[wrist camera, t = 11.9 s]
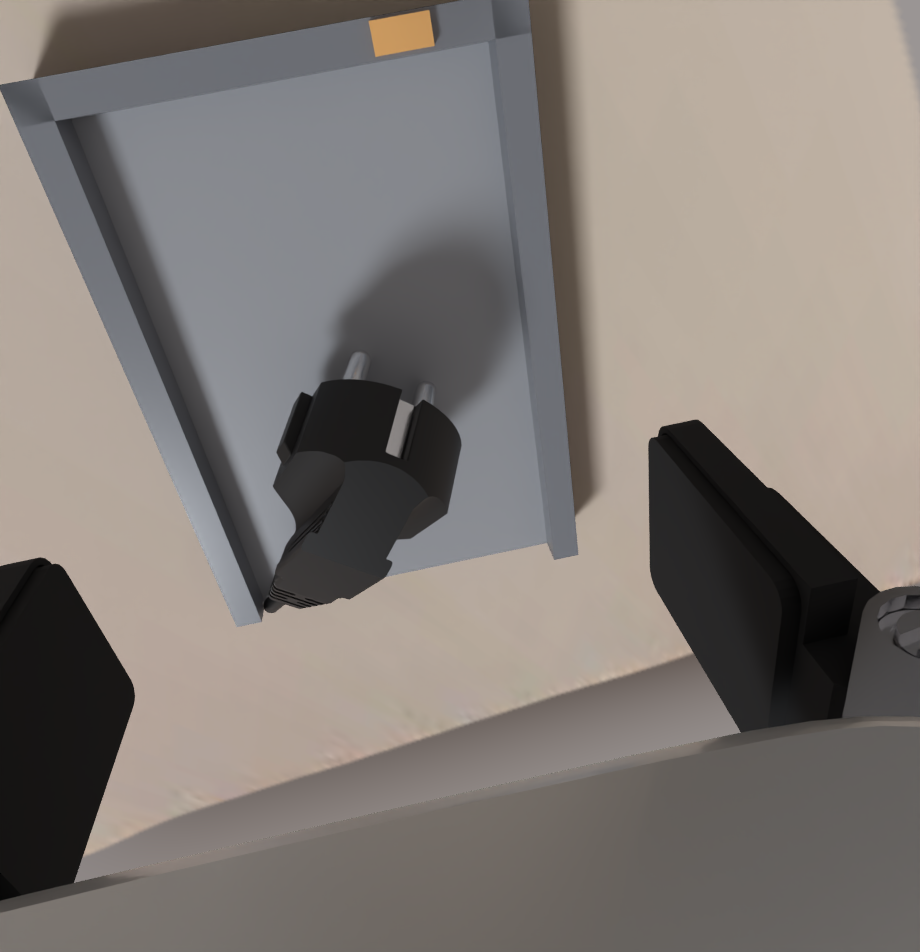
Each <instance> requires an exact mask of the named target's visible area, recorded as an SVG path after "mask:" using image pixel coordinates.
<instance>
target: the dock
mask: <svg viewBox="0 0 920 952" xmlns="http://www.w3.org/2000/svg"><path fill="white" fill-rule="evenodd" d="M0 90H1V92H2V95H3V97H4V99H5V102H6V104H7V106H8V108H9V111H10V113H11V115H12V117H13V120H14V122H15V124H16V127H17V129H18V131H19V133H20V136H21V138H22V140H23V142H24V145H25V147H26V149H27V152H28V154H29V156H30V158H31V161H32V163H33V165H34V167H35V170H36V172H37V174H38V177H39V179H40V181H41V183H42V186H43V188H44V190H45V192H46V195H47V197H48V199H49V202H50V204H51V206H52V208H53V211H54V213H55V215H56V217H57V220H58V222H59V224H60V226H61V229H62V231H63V233H64V236H65V238H66V240H67V242H68V245H69V247H70V249H71V251H72V254H73V256H74V258H75V261H76V263H77V265H78V267H79V270H80V272H81V274H82V276H83V279H84V281H85V283H86V286H87V288H88V290H89V292H90V295H91V297H92V299H93V301H94V304H95V306H96V308H97V311H98V313H99V315H100V317H101V320H102V322H103V324H104V326H105V329H106V331H107V333H108V336H109V338H110V340H111V342H112V345H113V347H114V349H115V351H116V354H117V356H118V358H119V360H120V363H121V365H122V367H123V370H124V372H125V374H126V376H127V379H128V381H129V383H130V385H131V388H132V390H133V392H134V395H135V397H136V399H137V401H138V404H139V406H140V408H141V410H142V413H143V415H144V417H145V420H146V422H147V424H148V426H149V429H150V431H151V433H152V435H153V438H154V440H155V442H156V445H157V447H158V449H159V451H160V454H161V456H162V458H163V460H164V463H165V465H166V467H167V469H168V472H169V474H170V476H171V479H172V481H173V483H174V485H175V488H176V490H177V492H178V494H179V497H180V499H181V501H182V504H183V506H184V508H185V510H186V513H187V515H188V517H189V519H190V522H191V524H192V526H193V529H194V531H195V533H196V535H197V538H198V540H199V542H200V544H201V547H202V549H203V551H204V554H205V556H206V558H207V560H208V563H209V565H210V567H211V569H212V572H213V574H214V576H215V579H216V581H217V583H218V585H219V588H220V590H221V592H222V594H223V597H224V599H225V601H226V603H227V606H228V608H229V610H230V613H231V615H232V617H233V619H234V622H235V624H236V626H237V627H239V626H244V625H249V624H254V623H258V622H262V617H263V611H264V607H263V603H264V601H265V599H267V598H268V597H269V596H268V593H269V590H270V587H271V584H272V581H273V578H274V575H275V570H276V567H277V564H278V563H279V562H280V559H281V557H282V554H283V552H284V549H285V546H286V544H287V543H288V541H289V540H290V538H291V537H292V536H293V535H294V533H295V530H296V523H295V519H294V517H293V515H292V513H291V511H290V510H289V508H288V507H287V506H286V504H285V503H284V502H283V500H282V499H281V498H280V496H279V495H278V494H277V492H276V491H275V489H274V488H273V484H274V481H275V478H276V475H277V472H278V470H279V467H280V464H281V461H280V459H279V457H278V455H277V453H276V451H277V449H278V446H279V443H280V440H281V438H282V435H283V432H284V429H285V427H286V424H287V421H288V418H289V416H290V413H291V410H292V407H293V405H294V403H295V401H296V400H297V398H298V396H299V395H300V393H301V392H304V393H306V394H308V395H311V396H313V394H314V393H315V391H316V390H317V388H318V387H319V385H320V384H321V382H325V381H330V380H338V379H343V376H344V373H345V370H346V367H347V364H348V361H349V358H350V355H351V354H352V353H353V352H354V351H356V350H364V351H366V352H368V353H369V355H370V356H371V359H372V363H371V367H370V370H369V373H368V376H367V381H373V382H378V383H382V384H386V385H390V386H393V387H396V388H399V389H402V393H401V397H400V400H402V401H405V402H407V403H409V404H412V400H413V397H414V393H415V389H416V387H417V385H418V384H419V383H420V382H422V381H429V382H431V383H433V384H434V385H435V387H436V389H437V393H436V398H435V402H434V406H435V407H436V408H437V409H439V410H440V411H441V412H442V413H444V414H445V415H446V416H447V417H448V418H449V419H450V421H451V422H452V423H453V424H454V426H455V427H456V429H457V430H458V433H459V435H460V438H461V444H462V446H461V451H460V456H459V460H458V465H457V470H456V475H455V480H454V484H453V489H452V494H451V499H450V504H449V508H448V513H447V514H446V515H445V516H443V517H442V518H440V519H439V520H437V521H436V522H434V523H433V524H432V525H430V526H429V527H427V528H426V529H424V530H423V531H421V532H420V533H418V534H417V535H416V536H414V537H413V538H411V539H400V540H396V542H395V544H394V546H393V547H392V549H391V551H390V553H389V555H388V557H387V558H386V559H387V560H390V561H392V567H391V569H390V570H389V572H388V574H387V576H392V575H397V574H402V573H406V572H411V571H416V570H421V569H425V568H430V567H435V566H440V565H444V564H449V563H454V562H458V561H463V560H468V559H473V558H477V557H482V556H487V555H492V554H496V553H501V552H506V551H511V550H515V549H520V548H525V547H530V546H534V545H539V544H544V543H547V544H548V546H549V548H550V551H551V553H552V556H553V558H554V560H556V559H560V558H565V557H570V556H575V555H578V546H577V535H576V524H575V513H574V502H573V490H572V479H571V468H570V457H569V446H568V435H567V423H566V412H565V401H564V390H563V379H562V368H561V356H560V345H559V334H558V323H557V312H556V301H555V289H554V278H553V267H552V256H551V245H550V234H549V222H548V211H547V200H546V189H545V178H544V167H543V155H542V144H541V133H540V122H539V111H538V100H537V89H536V77H535V66H534V55H533V44H532V33H531V22H530V10H529V0H460V1H455V2H449V3H444V4H438V5H433V6H427V7H422V8H416V9H411V10H405V11H400V12H395V13H389V14H384V15H378V16H373V17H367V18H362V19H356V20H351V21H346V22H340V23H335V24H329V25H324V26H318V27H313V28H307V29H302V30H297V31H291V32H286V33H280V34H275V35H269V36H264V37H258V38H253V39H247V40H242V41H237V42H231V43H226V44H220V45H215V46H209V47H204V48H198V49H193V50H188V51H182V52H177V53H171V54H166V55H160V56H155V57H149V58H144V59H138V60H133V61H128V62H122V63H117V64H111V65H106V66H100V67H95V68H89V69H84V70H79V71H73V72H68V73H62V74H57V75H51V76H46V77H40V78H35V79H30V80H24V81H19V82H13V83H8V84H2V85H0ZM387 576H386V577H387Z"/></svg>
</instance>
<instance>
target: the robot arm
mask: <svg viewBox="0 0 920 952" xmlns="http://www.w3.org/2000/svg"><path fill="white" fill-rule="evenodd" d="M648 451H649V529H650V572H651V577H652V581H653V584H654V586H655V588H656V590H657V592H658V594H659V595H660V597H661V599H662V601H663V602H664V604H665V606H666V607H667V609H668V611H669V612H670V614H671V616H672V617H673V619H674V621H675V622H676V624H677V626H678V627H679V629H680V631H681V632H682V634H683V636H684V637H685V639H686V641H687V643H688V644H689V646H690V648H691V649H692V651H693V653H694V654H695V656H696V658H697V659H698V661H699V663H700V664H701V666H702V668H703V669H704V671H705V673H706V674H707V676H708V678H709V679H710V681H711V683H712V684H713V686H714V688H715V689H716V691H717V693H718V695H719V696H720V698H721V700H722V701H723V703H724V705H725V706H726V708H727V710H728V711H729V713H730V715H731V716H732V718H733V720H734V721H735V723H736V725H737V726H738V728H739V730H740V732H741V733H738V734H733V735H728V736H723V737H719V738H713V739H709V740H704V741H699V742H694V743H689V744H684V745H679V746H675V747H670V748H665V749H660V750H655V751H651V752H646V753H641V754H636V755H631V756H627V757H623V758H618V759H614V760H609V761H604V762H600V763H596V764H591V765H586V766H582V767H577V768H573V769H568V770H564V771H560V772H555V773H551V774H546V775H542V776H537V777H533V778H529V779H524V780H520V781H515V782H511V783H506V784H501V785H497V786H492V787H488V788H483V789H479V790H475V791H470V792H466V793H461V794H457V795H452V796H448V797H444V798H439V799H435V800H430V801H426V802H421V803H418V804H413V805H408V806H404V807H400V808H395V809H391V810H386V811H382V812H378V813H374V814H369V815H365V816H360V817H356V818H351V819H347V820H343V821H339V822H334V823H330V824H326V825H321V826H317V827H312V828H308V829H304V830H299V831H295V832H290V833H286V834H282V835H278V836H273V837H269V838H265V839H260V840H256V841H252V842H247V843H243V844H238V845H234V846H230V847H225V848H221V849H217V850H213V851H208V852H204V853H200V854H195V855H192V856H187V857H183V858H178V859H174V860H170V861H166V862H161V863H157V864H153V865H149V866H144V867H140V868H136V869H132V870H128V871H123V872H119V873H115V874H110V875H106V876H102V877H98V878H94V879H89V880H85V881H81V882H76V883H74V880H75V877H76V875H77V872H78V869H79V866H80V863H81V860H82V857H83V854H84V851H85V848H86V845H87V842H88V839H89V836H90V833H91V830H92V827H93V824H94V821H95V818H96V815H97V812H98V809H99V806H100V804H101V801H102V798H103V795H104V792H105V789H106V786H107V783H108V780H109V777H110V774H111V771H112V768H113V765H114V762H115V759H116V756H117V753H118V750H119V747H120V744H121V741H122V738H123V735H124V732H125V729H126V726H127V723H128V721H129V718H130V715H131V712H132V709H133V705H134V701H135V693H134V687H133V684H132V681H131V679H130V678H129V676H128V674H127V673H126V671H125V669H124V668H123V666H122V664H121V663H120V661H119V659H118V658H117V656H116V654H115V653H114V651H113V649H112V648H111V646H110V644H109V643H108V641H107V639H106V638H105V636H104V634H103V633H102V631H101V629H100V628H99V626H98V624H97V623H96V621H95V619H94V618H93V616H92V614H91V613H90V611H89V609H88V608H87V606H86V604H85V603H84V601H83V599H82V598H81V596H80V594H79V593H78V591H77V589H76V588H75V586H74V584H73V583H72V581H71V579H70V578H69V576H68V574H67V573H66V571H65V570H64V568H63V567H62V566H60V565H58V564H51V563H50V562H49V561H48V560H46V559H45V558H35V559H31V560H26V561H21V562H16V563H12V564H7V565H3V566H0V952H920V587H918V586H910V587H895V588H892V589H888V590H885V591H882V592H880V591H879V590H878V589H877V588H876V587H874V586H873V585H872V584H871V583H870V582H869V581H868V580H867V579H866V578H865V577H864V576H863V575H862V574H861V573H860V572H859V571H858V570H857V569H856V568H855V567H854V566H853V565H852V564H851V563H850V562H849V561H848V560H847V559H846V558H845V557H844V556H843V555H842V554H841V553H840V552H839V551H838V550H837V549H836V548H835V547H834V546H833V545H832V544H831V543H829V542H828V541H827V540H826V539H825V538H824V537H823V536H822V535H821V534H820V533H819V532H818V531H817V530H816V529H815V528H814V527H813V526H812V525H811V524H810V523H809V522H808V521H807V520H806V519H805V518H804V517H803V516H802V515H801V514H800V513H799V512H798V511H797V510H796V509H795V508H794V507H793V506H792V505H791V504H790V503H789V502H788V501H787V500H785V499H784V498H783V497H782V496H781V495H780V494H779V493H778V492H777V491H775V490H774V489H772V488H767V487H766V486H765V485H764V484H763V483H762V482H761V481H760V480H759V479H758V478H757V477H756V476H755V475H754V474H753V473H752V472H751V471H750V470H749V469H748V468H747V467H746V466H745V465H744V464H743V463H742V462H741V461H740V460H739V459H738V458H737V457H736V456H735V455H734V454H733V453H732V452H731V451H730V450H729V449H728V448H727V447H726V446H725V445H724V444H723V443H722V442H721V441H720V440H719V439H718V438H717V437H716V436H715V435H714V434H713V433H712V432H711V431H710V430H709V429H708V428H707V427H706V426H705V425H704V424H703V423H702V422H700V421H699V420H691V421H687V422H682V423H677V424H672V425H668V426H663V427H661V428H660V430H659V434H658V437H654V438H651V439H650V441H649V448H648Z"/></svg>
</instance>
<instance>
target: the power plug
mask: <svg viewBox="0 0 920 952" xmlns="http://www.w3.org/2000/svg"><path fill="white" fill-rule="evenodd" d="M371 363H372V359H371V356H370V355H369V353H368V352H366V351H364V350H356V351H354V352H353V353H352V354H351V355H350V358H349V361H348V364H347V367H346V370H345V373H344V376H343V379H338V380H330V381H325V382H321V384H320V385H319V387H318V388H317V390H316V391H315V393H314V394H313V396H311V395H308V394H306V393H304V392H301V393H300V395H299V396H298V398H297V400H296V401H295V403H294V405H293V407H292V410H291V413H290V416H289V418H288V421H287V424H286V427H285V429H284V432H283V435H282V438H281V440H280V443H279V446H278V449H277V451H276V453H277V455H278V457H279V459H280V461H281V464H280V467H279V470H278V472H277V475H276V478H275V481H274V484H273V488H274V489H275V491H276V492H277V494H278V495H279V496H280V498H281V499H282V500H283V502H284V503H285V504H286V506H287V507H288V508H289V510H290V511H291V513H292V515H293V517H294V519H295V523H296V530H295V533H294V535H293V536H292V537H291V538H290V540H289V541H288V543H287V544H286V546H285V549H284V552H283V554H282V557H281V559H280V562H279V563H278V564H277V567H276V570H275V575H274V578H273V581H272V584H271V587H270V590H269V593H268V596H269V597H268V598H267V599H265V601H264V603H263V607H264V609H265V611H267V612H268V613H274V612H276V611H277V610H278V609H280V608H281V607H282V606H284V605H285V604H286V605H289V606H292V607H295V608H298V609H301V608H306V607H312V606H317V605H323V604H329V603H332V602H333V601H335V600H336V599H338V598H346V599H351V598H353V597H354V596H356V595H358V594H359V593H361V592H362V591H364V590H366V589H367V588H369V587H370V586H372V585H374V584H375V583H377V582H378V581H380V580H382V579H383V578H385V577H386V576H387V574H388V572H389V570H390V569H391V567H392V561H390V560H387V559H386V558H387V557H388V555H389V553H390V551H391V549H392V547H393V546H394V544H395V542H396V540H400V539H411V538H413V537H414V536H416V535H417V534H418V533H420V532H421V531H423V530H424V529H426V528H427V527H429V526H430V525H432V524H433V523H434V522H436V521H437V520H439V519H440V518H442V517H443V516H445V515H446V514H447V513H448V508H449V504H450V499H451V494H452V489H453V484H454V480H455V475H456V470H457V465H458V460H459V456H460V451H461V446H462V444H461V438H460V435H459V433H458V430H457V429H456V427H455V426H454V424H453V423H452V422H451V421H450V419H449V418H448V417H447V416H446V415H445V414H444V413H442V412H441V411H440V410H439V409H437V408H436V407H435V406H434V402H435V398H436V393H437V389H436V387H435V385H434V384H433V383H431V382H429V381H422V382H420V383H419V384H418V385H417V387H416V389H415V393H414V397H413V400H412V404H409V403H407V402H405V401H402V400H400V397H401V393H402V389H399V388H396V387H393V386H390V385H386V384H382V383H378V382H373V381H367V376H368V373H369V370H370V367H371Z"/></svg>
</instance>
